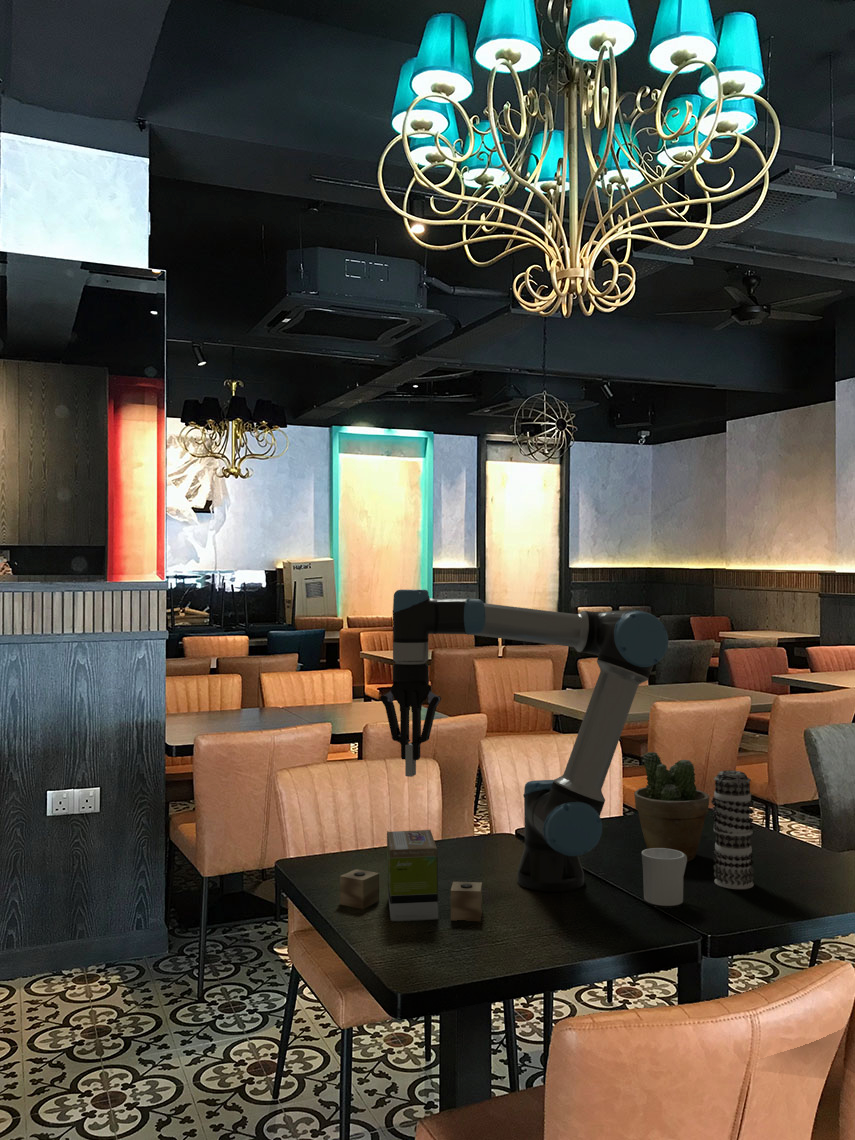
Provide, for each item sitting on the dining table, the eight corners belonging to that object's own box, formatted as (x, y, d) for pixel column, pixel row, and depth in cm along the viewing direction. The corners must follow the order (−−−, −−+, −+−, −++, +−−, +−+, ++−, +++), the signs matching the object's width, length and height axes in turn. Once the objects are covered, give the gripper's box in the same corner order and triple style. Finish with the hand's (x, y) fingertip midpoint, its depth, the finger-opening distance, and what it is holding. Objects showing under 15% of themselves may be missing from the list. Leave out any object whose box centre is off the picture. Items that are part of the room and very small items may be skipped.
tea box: (386, 898, 203) (386, 829, 203) (432, 897, 204) (432, 828, 204) (389, 922, 188) (389, 847, 188) (439, 920, 189) (439, 846, 189)
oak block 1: (379, 901, 201) (379, 872, 201) (363, 909, 196) (363, 879, 196) (356, 896, 204) (356, 868, 204) (339, 904, 199) (339, 875, 199)
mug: (661, 911, 193) (660, 861, 194) (633, 899, 201) (632, 851, 202) (701, 903, 198) (700, 854, 199) (672, 892, 206) (671, 844, 207)
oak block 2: (482, 911, 194) (481, 881, 194) (480, 921, 188) (480, 890, 188) (453, 910, 195) (453, 880, 195) (450, 920, 189) (450, 889, 189)
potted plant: (719, 852, 238) (718, 753, 239) (698, 870, 223) (696, 764, 223) (649, 842, 248) (648, 747, 249) (624, 859, 232) (622, 758, 233)
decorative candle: (710, 887, 210) (709, 774, 210) (714, 875, 218) (712, 767, 219) (753, 891, 206) (752, 777, 207) (756, 880, 215) (754, 770, 215)
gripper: (445, 662, 199) (445, 773, 198) (387, 660, 203) (387, 770, 202) (435, 664, 192) (435, 780, 191) (375, 663, 196) (375, 777, 195)
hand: (410, 775), depth 197 cm, fingers closed
